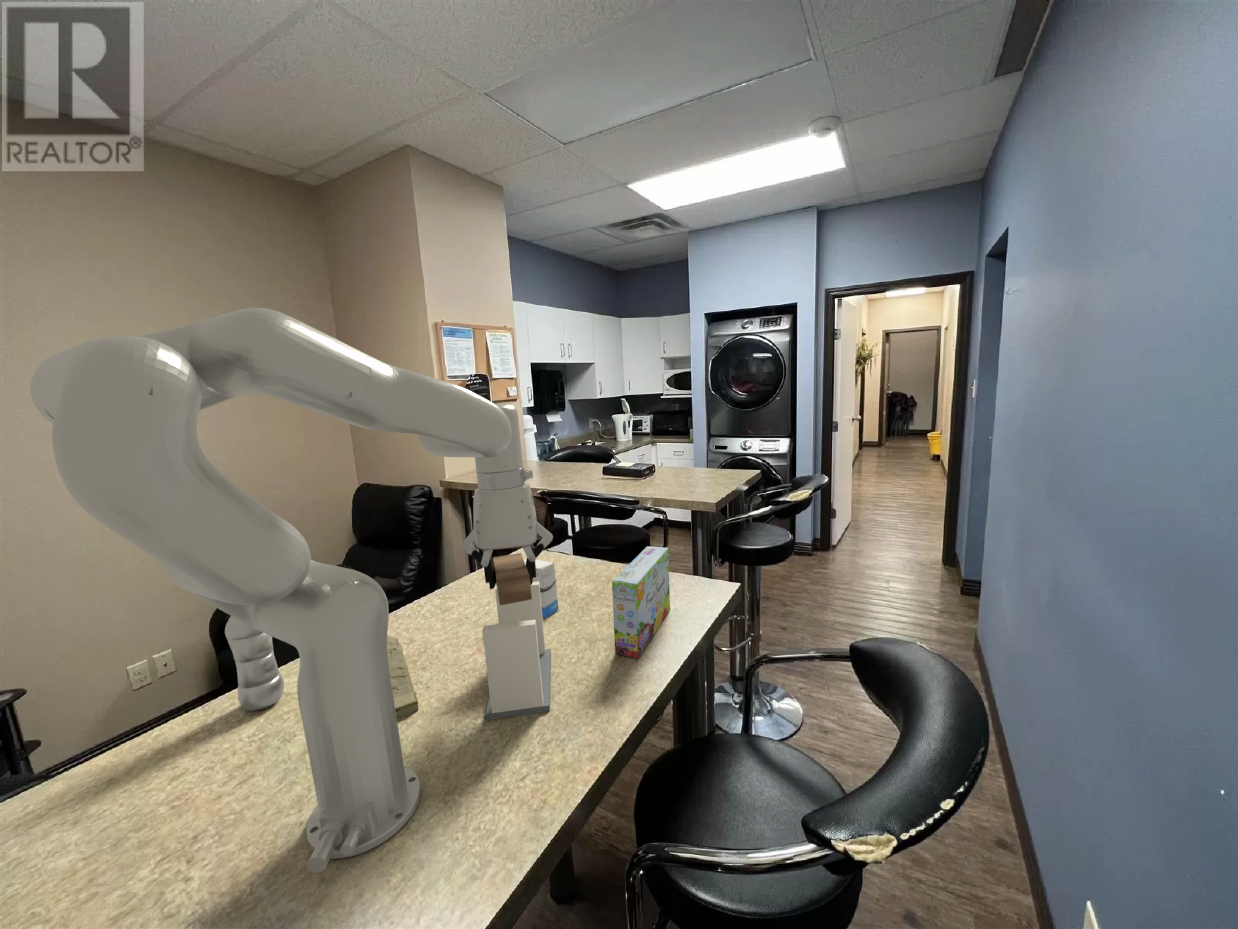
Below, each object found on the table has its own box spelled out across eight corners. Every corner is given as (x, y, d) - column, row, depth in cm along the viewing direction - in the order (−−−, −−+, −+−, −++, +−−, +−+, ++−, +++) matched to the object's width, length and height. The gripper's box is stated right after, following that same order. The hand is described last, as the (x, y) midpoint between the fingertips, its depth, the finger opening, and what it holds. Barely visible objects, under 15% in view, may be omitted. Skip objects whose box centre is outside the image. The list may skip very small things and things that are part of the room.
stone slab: (393, 625, 104) (422, 687, 79) (396, 643, 104) (425, 711, 79) (327, 643, 97) (335, 718, 72) (330, 663, 98) (339, 743, 72)
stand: (549, 711, 77) (541, 623, 74) (486, 720, 75) (475, 631, 73) (551, 653, 93) (544, 580, 91) (498, 660, 92) (490, 586, 90)
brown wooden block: (495, 578, 87) (492, 557, 86) (523, 573, 88) (520, 552, 87) (500, 605, 75) (497, 581, 75) (531, 599, 77) (529, 575, 76)
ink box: (559, 609, 112) (555, 561, 110) (545, 619, 108) (540, 569, 106) (532, 603, 117) (527, 556, 115) (517, 611, 112) (513, 563, 111)
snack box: (641, 660, 89) (637, 583, 87) (614, 655, 91) (608, 581, 89) (672, 609, 109) (669, 545, 106) (648, 606, 111) (645, 544, 108)
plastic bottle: (282, 687, 88) (262, 584, 85) (290, 703, 83) (269, 594, 80) (238, 705, 83) (215, 596, 80) (243, 722, 79) (220, 608, 75)
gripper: (553, 471, 83) (562, 570, 86) (452, 480, 81) (464, 581, 84) (553, 479, 76) (562, 587, 79) (441, 489, 74) (455, 599, 77)
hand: (511, 582), depth 82 cm, fingers closed on brown wooden block, 5 cm apart
